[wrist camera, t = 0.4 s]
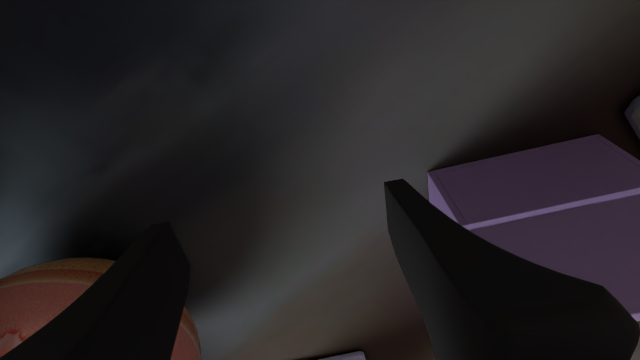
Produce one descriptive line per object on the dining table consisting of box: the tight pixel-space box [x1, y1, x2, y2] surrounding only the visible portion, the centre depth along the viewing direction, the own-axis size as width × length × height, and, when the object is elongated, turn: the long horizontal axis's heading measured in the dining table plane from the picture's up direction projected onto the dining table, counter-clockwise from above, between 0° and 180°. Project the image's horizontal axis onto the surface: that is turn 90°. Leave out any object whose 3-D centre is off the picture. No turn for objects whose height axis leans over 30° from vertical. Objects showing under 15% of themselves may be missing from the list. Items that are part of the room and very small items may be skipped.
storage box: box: [427, 134, 640, 231], centre depth 26 cm, size 14×11×6 cm
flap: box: [471, 194, 640, 321], centre depth 16 cm, size 7×11×1 cm
